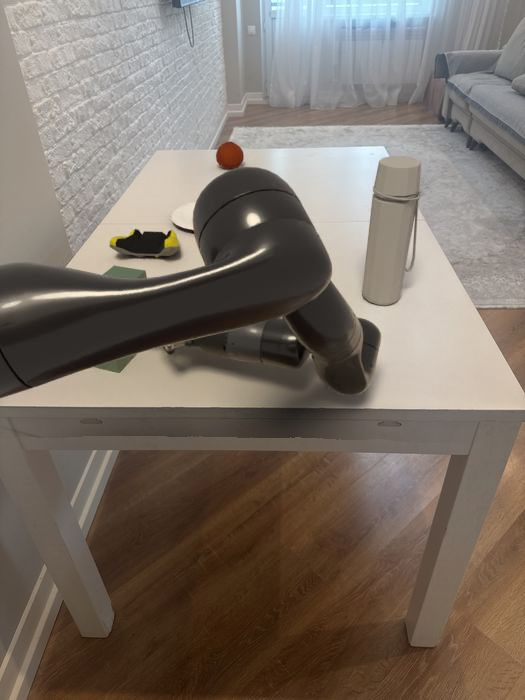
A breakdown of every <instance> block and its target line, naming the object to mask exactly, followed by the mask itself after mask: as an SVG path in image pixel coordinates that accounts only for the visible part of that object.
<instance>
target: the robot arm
mask: <svg viewBox="0 0 525 700" xmlns="http://www.w3.org/2000/svg"><path fill="white" fill-rule="evenodd" d="M195 201H196V204H195V207H194V210H193V229H194V231H193V234H194V235H193V236H194V239H195V244H196V246H197V249H198V252H199V254H200V257H201V258H202V261H203V264H204V265H202V266H199V267H195V268H192V269H188V270H187V269H186V270H183V271H179V272H174V273H170V274H165V275H161V276H160V275H159V276H152V277H147V278H137V279H132V278H117V277H112V276H106V275H103V274H99V273H94V272H90V271H86V270H80V269H77V268H72V267H67V266H60V265H55V264H49V263H42V262H40V263H39V262H27V261H21V262H20V261H19V262H9V263H4V264H0V399H3V398H7V397H9V396H12V395H16V394H18V393H22V392H24V391H25V392H26V391H28V390H31V389H34V388H37V387H40V386H43V385H45V384H49V383H51V382H54V381H56V380H59V379H62V378H65V377H67V376H71V375H73V374H76V373H79V372H82V371H86V370H88V369H89V370H90V369H92V368H96V367H95V366H98V365H101V364H105V363H108V362H111V361H114V360H117V359H121V358H124V357H127V356H131V355H134V354H136V355H137V354H140V353H144V352H147V351H151V350H155V349H160V348H162V349H163V350H164V352H165V353H166V354H167V355H173V354H175V353H176V350H175V349H176V348H179V347H182V346H184V347H186V348H200V349H201V350H202V351H203V352H204V353H205V354H207V355H210V356H215V357H219V358H225V359H229V360H234V361H239V362H244V363H249V364H263V365H267V366H272V367H277V368H281V369H286V370H292V371H298V370H302V369H303V368H304V367H305V365H306V363H307V362H308V359H309V358H310V356H311V360H312V362H313V366H314V369H315V372H316V374H317V377H318V378H319V379H320V381H321V382H322V384H323V385H324V386H325V387H327V388H328V389H329V390H330V391H332V392H334V393H336V394H338V395H342V396H350V397H352V396H357V395H360V394H363V393H364V392H366V391H367V390H369V388H370V386H371V385H372V383H373V380H374V374H375V370H376V365H377V360H378V356H379V352H380V347H381V343H382V333H381V330H380V329H379V327H377V325H376V324H375V323H373V322H372V321H370V320H369V319H366V318H363V317H358V316H357V315H356V313H355V312H354V311H353V309H352V307H351V306H350V304H349V303H348V301H347V300H346V299H345V297H344V296H343V295H342V293H341V292H340V290H339V289H338V288H337V286H336V285H335V284H334V282H333V281H332V278H333V277H332V276H333V264H332V261H331V257H330V255H329V252H328V250H327V248H326V246H325V244H324V242H323V239H322V237H321V236H320V234H319V232H318V231H317V229H316V227H315V226H314V223H313V222H312V220H311V218H310V217H309V214H308V212H307V211H306V209H305V207H304V206H303V205H304V204H303V203H302V201H301V199H300V198H299V196H298V195H297V193H296V192H295V191H294V189H293V188H292V187H291V186H290V185H289V183H288V182H287V181H286V180H284V179H283V178H282V177H280V175H279V174H276V173H275V172H273V171H270V170H269V169H267V168H262V167H257V166H243V167H236V168H232V169H229V170H227V171H225V172H223V173H221V174H220V175H217V176H216V177H215V178H214V179H212V180H210V182H209V183H208V184H207V185H206V186H205V187H204V188H203V189H202V191H201V192H200V193H199V195H198V197H197V199H196V200H195Z"/></svg>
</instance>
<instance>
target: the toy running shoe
mask: <svg viewBox="0 0 525 700" xmlns="http://www.w3.org/2000/svg"><path fill="white" fill-rule="evenodd" d="M109 248H111V249H112V250H113V251H115V252H117V253H119V254H122V255H126V256H135V257H136V258H139V259H141V258H145V257H154V258H159V257H171V256H173V255H175V254H176V253H177V252H179V251H180V243H179V238H178V236H177V233H176V231H175V230H174V229H170V230H168V231H167V233H164V232H163V231H149V230H147V231H146V230H145V231H144V230H143V232H141V231H140V229H139V228H134V229H132V230H131V232H130V233H129V234H128V236H122V235H117V236H113V237H112V238H110V240H109Z"/></svg>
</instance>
